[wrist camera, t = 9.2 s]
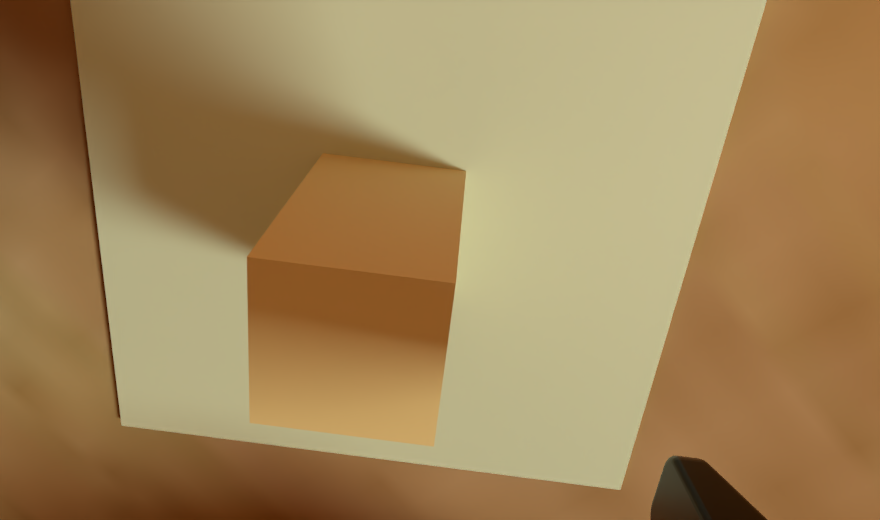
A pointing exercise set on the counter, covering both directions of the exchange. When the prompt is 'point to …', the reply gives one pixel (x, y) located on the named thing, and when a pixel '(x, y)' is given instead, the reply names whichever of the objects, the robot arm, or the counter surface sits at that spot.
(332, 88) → the lid
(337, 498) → the counter surface
